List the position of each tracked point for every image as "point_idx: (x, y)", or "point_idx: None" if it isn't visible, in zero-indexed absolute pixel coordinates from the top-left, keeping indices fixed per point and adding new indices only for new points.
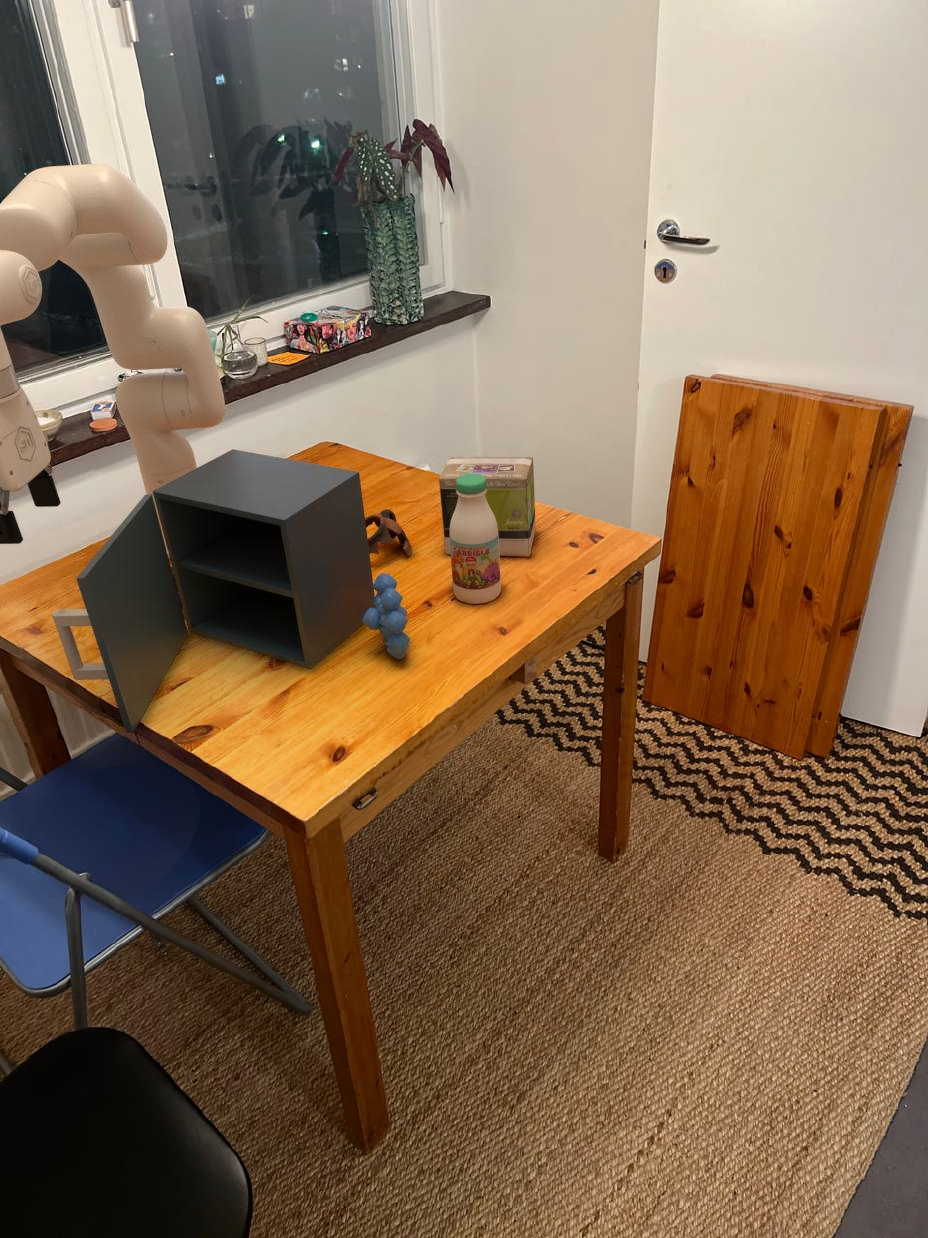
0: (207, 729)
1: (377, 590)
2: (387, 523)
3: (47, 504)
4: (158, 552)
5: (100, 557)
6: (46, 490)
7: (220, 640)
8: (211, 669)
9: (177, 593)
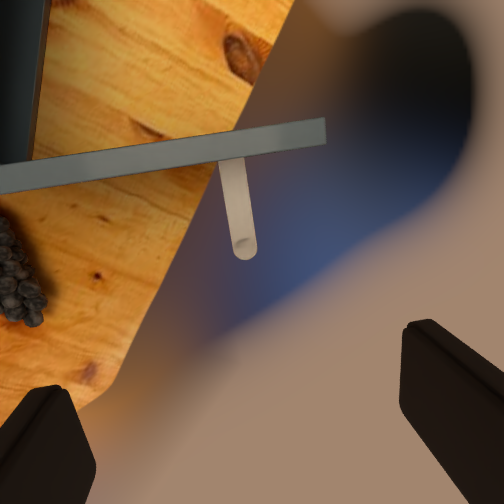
0: (232, 43)
1: None
2: None
3: (75, 430)
4: None
5: (188, 138)
6: (25, 498)
7: (35, 114)
8: (105, 99)
9: None
